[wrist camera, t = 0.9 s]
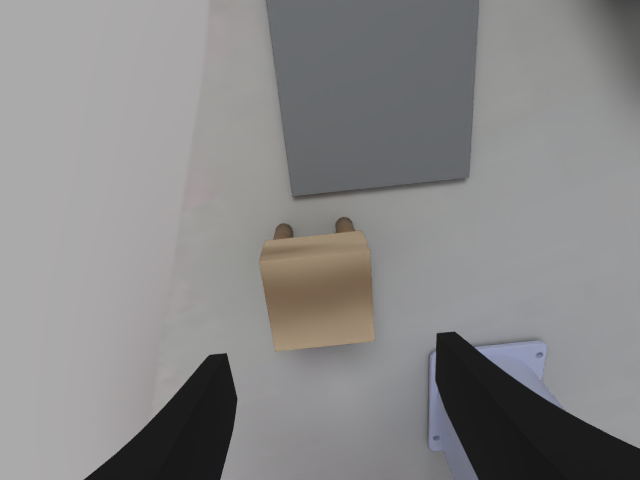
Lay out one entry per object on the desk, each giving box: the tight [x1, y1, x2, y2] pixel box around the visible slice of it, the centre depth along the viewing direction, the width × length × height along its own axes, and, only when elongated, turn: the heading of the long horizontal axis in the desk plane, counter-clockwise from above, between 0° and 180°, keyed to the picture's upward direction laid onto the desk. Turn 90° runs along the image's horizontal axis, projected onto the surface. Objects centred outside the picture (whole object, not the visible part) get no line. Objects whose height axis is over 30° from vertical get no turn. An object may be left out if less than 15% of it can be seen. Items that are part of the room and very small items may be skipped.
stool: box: [259, 217, 375, 352], centre depth 20 cm, size 5×5×6 cm
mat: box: [266, 0, 479, 196], centre depth 19 cm, size 10×10×1 cm
